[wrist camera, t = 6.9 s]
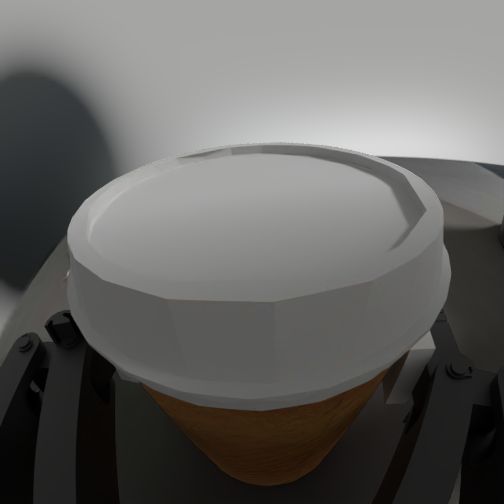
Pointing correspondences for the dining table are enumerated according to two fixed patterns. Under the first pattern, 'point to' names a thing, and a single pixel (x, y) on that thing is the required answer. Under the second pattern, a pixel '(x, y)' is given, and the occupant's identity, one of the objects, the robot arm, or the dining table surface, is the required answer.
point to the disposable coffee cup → (259, 292)
